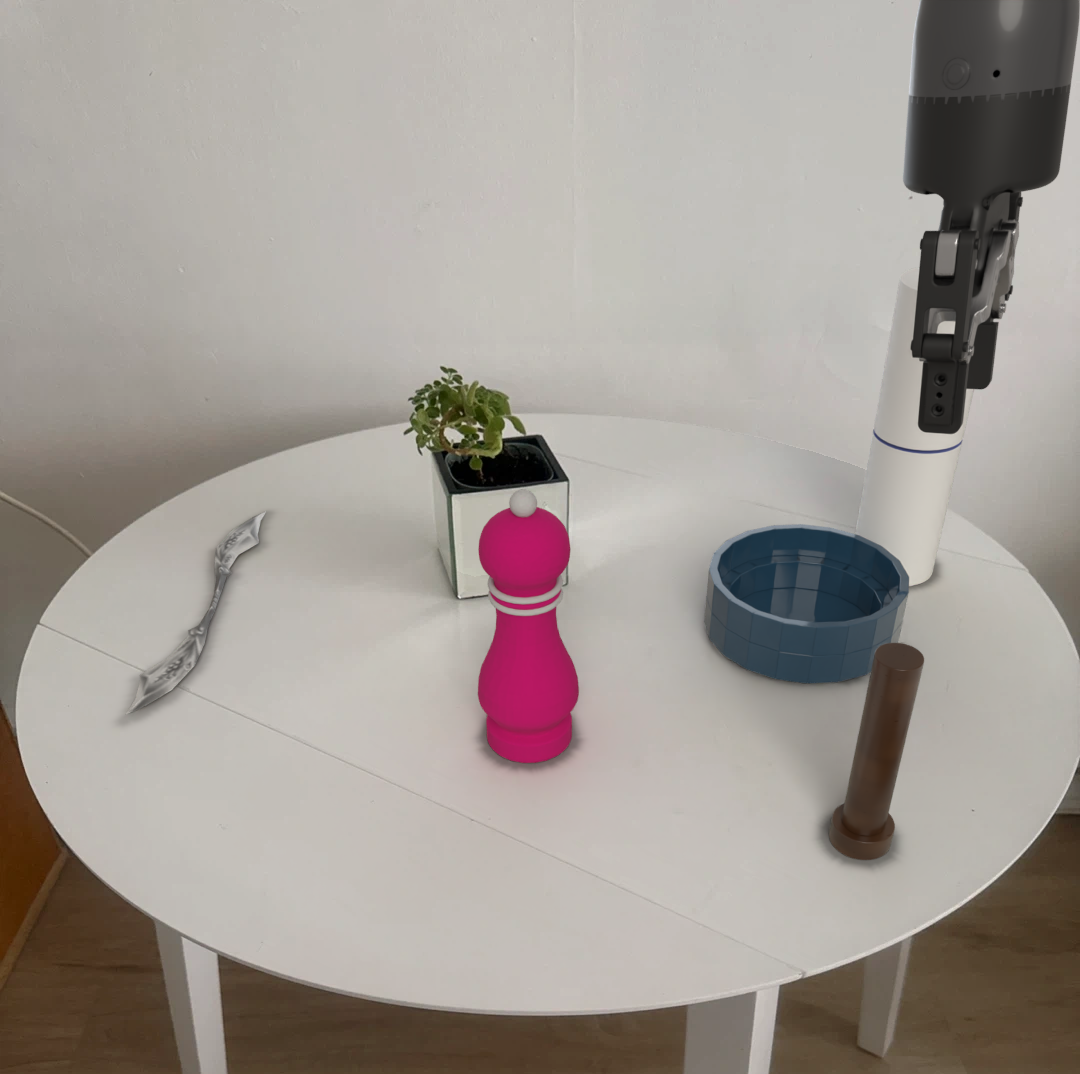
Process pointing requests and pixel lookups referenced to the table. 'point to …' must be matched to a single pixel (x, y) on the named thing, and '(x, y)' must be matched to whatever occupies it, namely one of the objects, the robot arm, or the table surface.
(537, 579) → the pepper mill
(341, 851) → the table surface
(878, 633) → the bowl
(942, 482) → the cylindrical container
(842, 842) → the brown flanged cylinder
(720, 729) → the table surface
